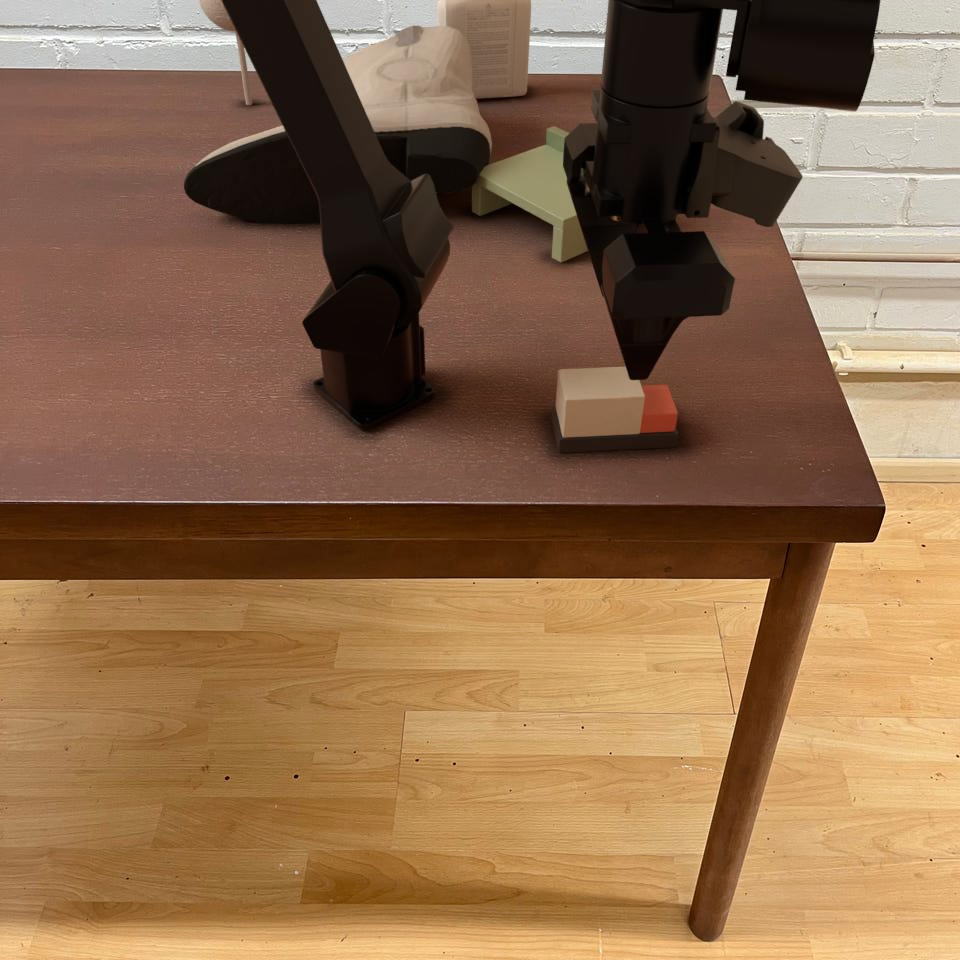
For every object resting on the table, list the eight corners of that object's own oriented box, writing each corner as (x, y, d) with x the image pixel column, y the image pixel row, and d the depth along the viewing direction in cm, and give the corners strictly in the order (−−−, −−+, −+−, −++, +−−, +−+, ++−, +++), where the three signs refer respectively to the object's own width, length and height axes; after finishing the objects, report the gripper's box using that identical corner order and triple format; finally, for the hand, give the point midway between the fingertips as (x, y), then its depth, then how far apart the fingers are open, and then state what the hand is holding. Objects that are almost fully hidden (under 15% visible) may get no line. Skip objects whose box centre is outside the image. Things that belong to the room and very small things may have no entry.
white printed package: (522, 84, 116) (527, -32, 108) (531, 98, 113) (537, -21, 105) (434, 90, 114) (432, -28, 106) (441, 104, 111) (439, -16, 103)
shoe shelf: (560, 263, 86) (564, 203, 82) (471, 211, 93) (471, 154, 89) (641, 227, 91) (649, 169, 87) (551, 181, 97) (554, 125, 94)
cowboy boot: (497, 133, 85) (484, 9, 102) (167, 132, 84) (209, 6, 100) (493, 229, 92) (481, 98, 109) (189, 230, 90) (225, 97, 107)
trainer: (558, 453, 67) (562, 400, 64) (551, 419, 70) (554, 368, 67) (676, 447, 68) (685, 395, 65) (664, 414, 70) (673, 362, 67)
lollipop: (258, 86, 115) (238, -58, 105) (294, 105, 111) (277, -44, 101) (204, 103, 111) (177, -46, 101) (239, 122, 107) (215, -30, 97)
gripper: (868, 159, 47) (794, 422, 57) (753, 25, 61) (710, 257, 71) (632, 166, 46) (600, 430, 56) (570, 29, 60) (554, 262, 70)
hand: (623, 335), depth 63 cm, fingers open, 9 cm apart
